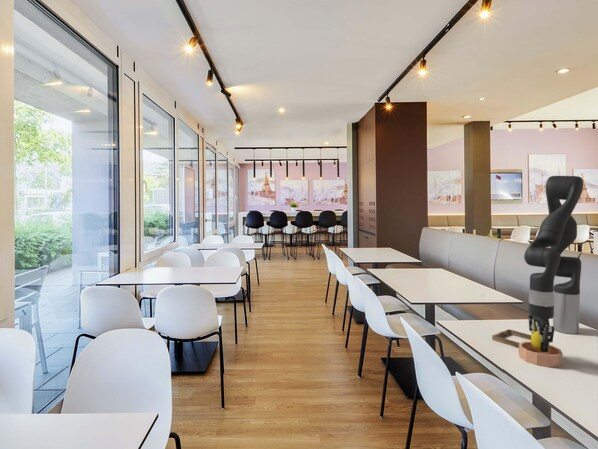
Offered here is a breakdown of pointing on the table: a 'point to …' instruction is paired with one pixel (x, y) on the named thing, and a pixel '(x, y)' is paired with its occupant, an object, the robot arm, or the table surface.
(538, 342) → the lemon
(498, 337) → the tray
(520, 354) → the bowl
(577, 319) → the robot arm
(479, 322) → the table surface
